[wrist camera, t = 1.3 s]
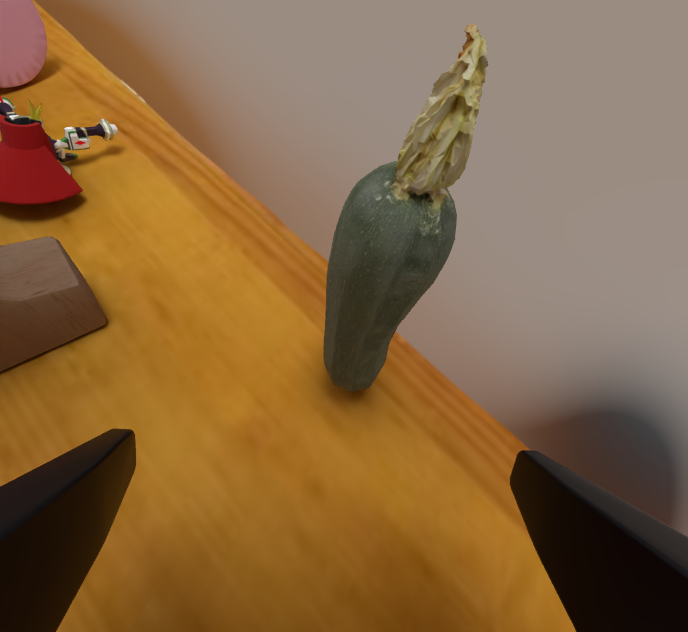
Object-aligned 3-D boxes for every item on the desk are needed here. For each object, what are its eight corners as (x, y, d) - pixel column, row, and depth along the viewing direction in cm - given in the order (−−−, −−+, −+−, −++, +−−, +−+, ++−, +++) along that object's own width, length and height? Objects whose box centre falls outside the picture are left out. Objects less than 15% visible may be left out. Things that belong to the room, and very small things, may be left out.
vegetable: (343, 425, 24) (506, 120, 7) (292, 381, 25) (331, 24, 8) (383, 376, 26) (579, 57, 9) (335, 338, 27) (434, -13, 10)
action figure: (125, 159, 35) (114, 93, 31) (77, 218, 28) (56, 142, 24) (9, 137, 33) (-17, 64, 29) (-73, 194, 26) (-122, 108, 22)
